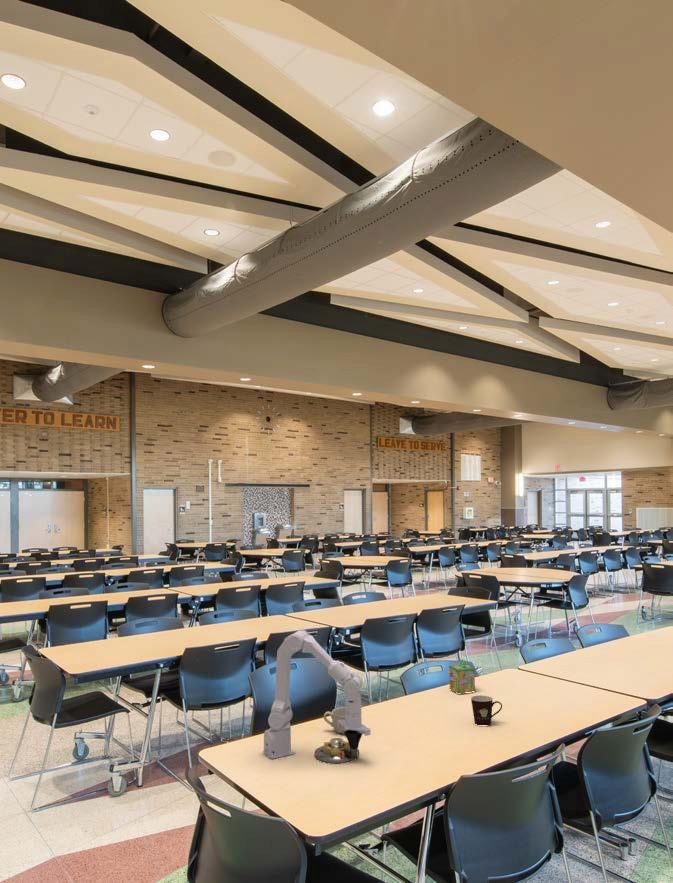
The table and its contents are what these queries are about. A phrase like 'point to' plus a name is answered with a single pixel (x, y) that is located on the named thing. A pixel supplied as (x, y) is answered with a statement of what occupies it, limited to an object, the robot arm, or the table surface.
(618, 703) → the table surface
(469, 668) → the green patterned box
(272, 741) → the robot arm
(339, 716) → the teacup
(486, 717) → the coffee mug
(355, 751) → the gold handled ring
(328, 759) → the cap plate
